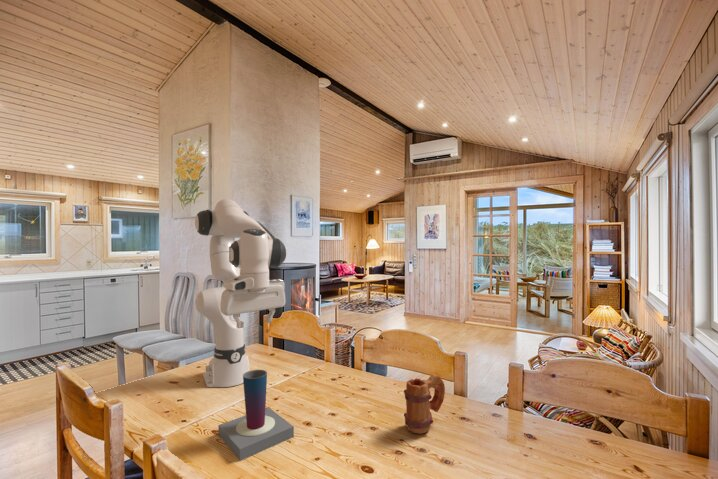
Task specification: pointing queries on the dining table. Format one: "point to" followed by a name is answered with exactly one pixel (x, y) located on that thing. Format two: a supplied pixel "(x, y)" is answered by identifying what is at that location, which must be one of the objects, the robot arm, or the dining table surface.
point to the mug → (422, 402)
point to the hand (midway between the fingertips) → (254, 324)
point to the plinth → (255, 434)
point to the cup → (255, 397)
